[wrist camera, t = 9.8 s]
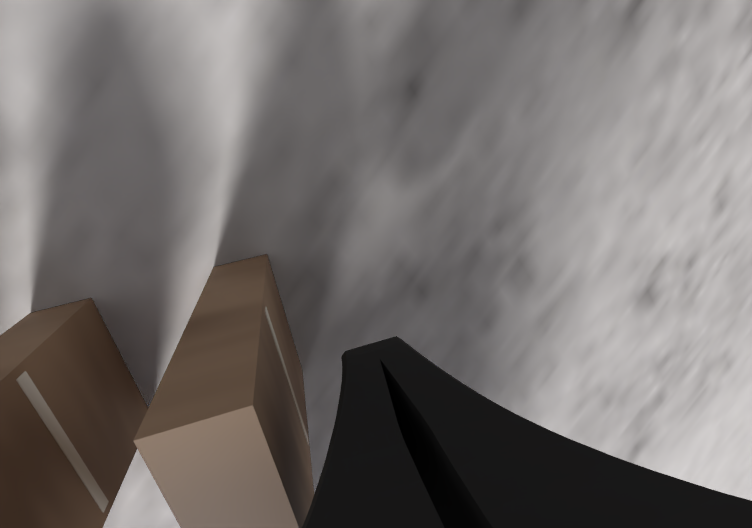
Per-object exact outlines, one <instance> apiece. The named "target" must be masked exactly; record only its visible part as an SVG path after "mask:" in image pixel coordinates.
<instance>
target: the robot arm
mask: <svg viewBox="0 0 752 528" xmlns="http://www.w3.org/2000/svg"><path fill="white" fill-rule="evenodd" d="M302 528H752V501H750V500H747V499H743V498H739V497H735V496H732V495H728V494H725V493H721V492H718V491H715V490H711V489H708V488H705V487H702V486H699V485H696V484H693V483H689V482H686V481H683V480H680V479H677V478H674V477H671V476H668V475H665V474H662V473H659V472H655V471H652V470H650V469H647V468H644V467H641V466H638V465H636V464H633V463H630V462H627V461H624V460H621V459H619V458H616V457H613V456H611V455H608V454H606V453H603V452H601V451H598V450H596V449H593V448H591V447H588V446H586V445H583V444H581V443H578V442H576V441H573V440H571V439H568V438H566V437H564V436H561V435H559V434H557V433H554V432H552V431H550V430H548V429H546V428H543V427H541V426H539V425H537V424H535V423H533V422H531V421H529V420H527V419H525V418H523V417H521V416H519V415H516V414H514V413H513V412H511V411H509V410H507V409H505V408H503V407H501V406H500V405H498V404H496V403H494V402H493V401H491V400H489V399H487V398H486V397H484V396H482V395H481V394H479V393H477V392H476V391H474V390H472V389H471V388H469V387H467V386H466V385H464V384H463V383H461V382H460V381H458V380H457V379H455V378H454V377H452V376H451V375H449V374H448V373H446V372H445V371H443V370H442V369H440V368H439V367H437V366H436V365H435V364H433V363H432V362H430V361H429V360H428V359H426V358H425V357H424V356H422V355H421V354H420V353H418V352H417V351H416V350H414V349H413V348H412V347H411V346H409V345H408V344H407V343H406V342H404V341H403V340H402V339H400V338H398V337H397V336H396V337H393V338H389V339H386V340H382V341H379V342H375V343H372V344H368V345H365V346H362V347H358V348H355V349H351V350H348V351H345V352H344V354H343V355H342V384H341V392H340V398H339V404H338V410H337V416H336V420H335V425H334V429H333V433H332V437H331V441H330V445H329V449H328V453H327V456H326V460H325V463H324V467H323V470H322V473H321V476H320V479H319V482H318V486H317V488H316V491H315V494H314V497H313V500H312V503H311V506H310V508H309V511H308V514H307V516H306V519H305V521H304V524H303V526H302Z"/></svg>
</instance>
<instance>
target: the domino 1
mask: <svg viewBox="0 0 752 528" xmlns="http://www.w3.org/2000/svg"><path fill="white" fill-rule="evenodd" d="M147 410H148V407H147V405H146V403H145V401H144V399H143V397H142V396H141V394H140V392H139V390H138V388H137V386H136V384H135V382H134V380H133V378H132V376H131V374H130V372H129V370H128V368H127V366H126V364H125V362H124V360H123V358H122V357H121V355H120V353H119V351H118V349H117V347H116V345H115V343H114V341H113V339H112V337H111V335H110V333H109V331H108V329H107V327H106V325H105V323H104V321H103V319H102V318H101V316H100V314H99V312H98V310H97V308H96V306H95V304H94V302H93V300H92V298H89V299H85V300H81V301H77V302H72V303H68V304H64V305H60V306H56V307H52V308H48V309H44V310H40V311H36V312H32V313H30V314H28V315H27V316H26V317H24V318H23V319H22V320H20V321H19V322H18V323H16V324H15V325H14V326H12V327H11V328H10V329H8V330H7V331H6V332H4V333H3V334H2V335H0V528H103V525H104V523H105V521H106V518H107V516H108V514H109V512H110V509H111V507H112V505H113V502H114V500H115V498H116V496H117V493H118V491H119V489H120V487H121V484H122V482H123V480H124V477H125V475H126V473H127V471H128V468H129V466H130V464H131V462H132V459H133V457H134V455H135V452H136V450H137V447H136V445H135V443H134V441H133V440H134V438H135V436H136V434H137V432H138V430H139V427H140V425H141V423H142V421H143V419H144V417H145V414H146V412H147Z"/></svg>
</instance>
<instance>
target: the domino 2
mask: <svg viewBox="0 0 752 528" xmlns="http://www.w3.org/2000/svg"><path fill="white" fill-rule="evenodd" d="M133 441H134V443H135V445H136V447H137V449H138V450H139V452H140V454H141V456H142V458H143V459H144V461H145V463H146V465H147V467H148V469H149V470H150V472H151V474H152V476H153V478H154V480H155V481H156V483H157V485H158V487H159V489H160V491H161V492H162V494H163V496H164V498H165V500H166V502H167V503H168V505H169V507H170V509H171V511H172V512H173V514H174V516H175V518H176V520H177V522H178V523H179V525H180V527H181V528H302V526H303V524H304V521H305V519H306V516H307V514H308V511H309V508H310V506H311V503H312V500H313V497H314V488H313V478H312V467H311V457H310V446H309V435H308V425H307V414H306V404H305V393H304V382H303V372H302V368H301V364H300V361H299V358H298V354H297V351H296V348H295V345H294V341H293V338H292V335H291V331H290V328H289V325H288V321H287V318H286V315H285V312H284V308H283V305H282V302H281V298H280V295H279V292H278V289H277V285H276V282H275V279H274V275H273V272H272V269H271V265H270V262H269V259H268V256H267V254H265V255H261V256H257V257H253V258H249V259H245V260H241V261H236V262H232V263H228V264H224V265H220V266H216V267H213V270H212V272H211V274H210V276H209V278H208V280H207V283H206V285H205V287H204V289H203V291H202V293H201V296H200V298H199V300H198V302H197V304H196V306H195V309H194V311H193V313H192V315H191V317H190V319H189V321H188V324H187V326H186V328H185V330H184V332H183V334H182V337H181V339H180V341H179V343H178V345H177V347H176V350H175V352H174V354H173V356H172V358H171V360H170V363H169V365H168V367H167V369H166V371H165V373H164V376H163V378H162V380H161V382H160V384H159V386H158V388H157V391H156V393H155V395H154V397H153V399H152V401H151V404H150V406H149V408H148V410H147V412H146V414H145V417H144V419H143V421H142V423H141V425H140V427H139V430H138V432H137V434H136V436H135V438H134V440H133Z"/></svg>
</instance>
